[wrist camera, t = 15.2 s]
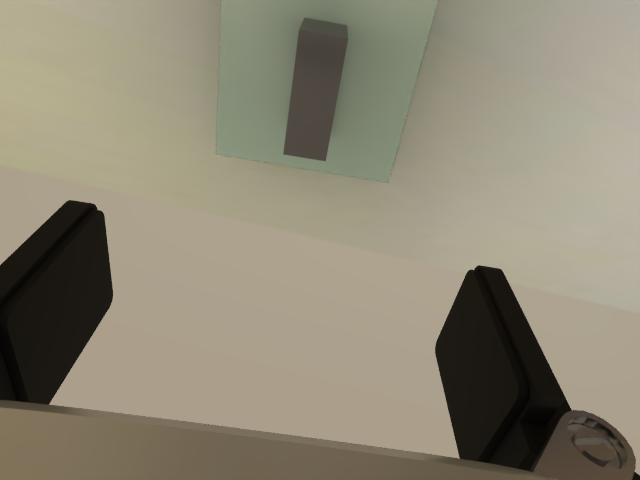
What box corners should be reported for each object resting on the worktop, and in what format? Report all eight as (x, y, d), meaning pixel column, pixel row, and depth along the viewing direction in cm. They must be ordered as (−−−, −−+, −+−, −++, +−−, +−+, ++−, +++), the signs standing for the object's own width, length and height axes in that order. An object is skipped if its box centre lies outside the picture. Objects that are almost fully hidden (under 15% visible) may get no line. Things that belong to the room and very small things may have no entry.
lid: (231, -54, 27) (203, -53, 22) (434, -15, 28) (458, -4, 22) (222, 142, 34) (199, 182, 28) (385, 169, 35) (394, 213, 29)
